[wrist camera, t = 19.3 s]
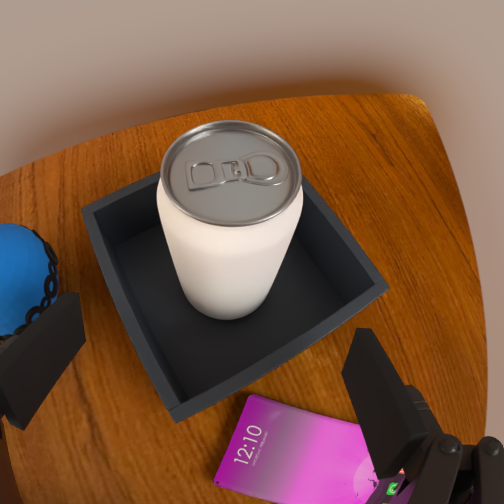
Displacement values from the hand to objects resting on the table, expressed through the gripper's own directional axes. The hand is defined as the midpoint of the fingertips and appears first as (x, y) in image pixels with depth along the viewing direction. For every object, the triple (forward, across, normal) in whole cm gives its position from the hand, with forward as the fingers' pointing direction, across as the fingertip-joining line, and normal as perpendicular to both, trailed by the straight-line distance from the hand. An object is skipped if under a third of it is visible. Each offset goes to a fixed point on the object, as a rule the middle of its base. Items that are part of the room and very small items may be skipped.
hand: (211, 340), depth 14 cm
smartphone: (0, +9, -11) cm, 14 cm away
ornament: (+7, -16, -4) cm, 18 cm away
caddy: (+10, 0, -2) cm, 10 cm away
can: (+9, 0, -1) cm, 9 cm away
